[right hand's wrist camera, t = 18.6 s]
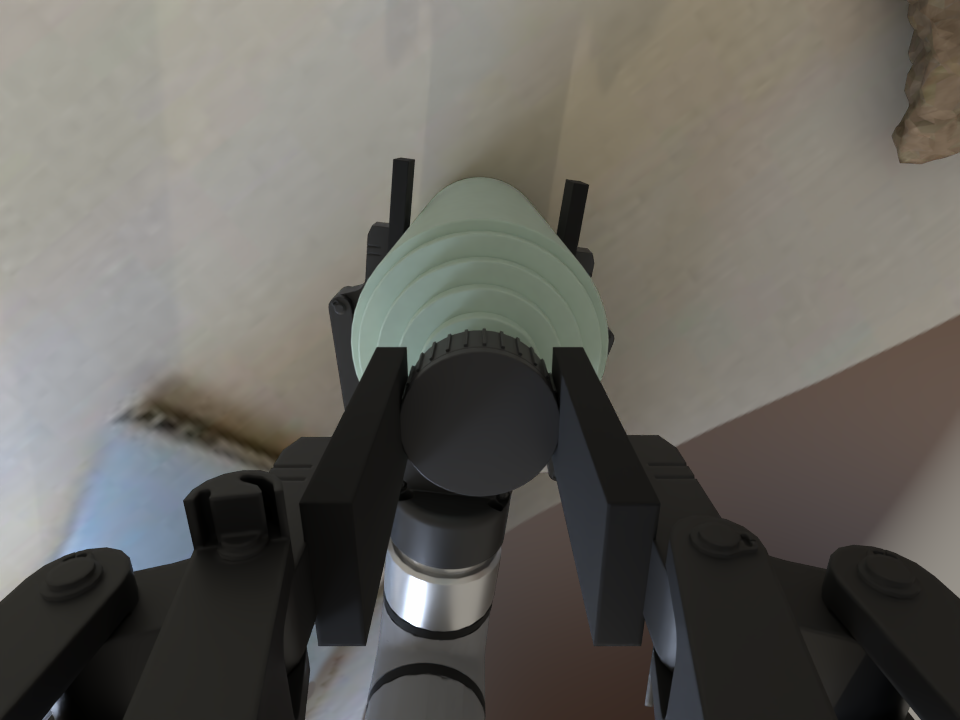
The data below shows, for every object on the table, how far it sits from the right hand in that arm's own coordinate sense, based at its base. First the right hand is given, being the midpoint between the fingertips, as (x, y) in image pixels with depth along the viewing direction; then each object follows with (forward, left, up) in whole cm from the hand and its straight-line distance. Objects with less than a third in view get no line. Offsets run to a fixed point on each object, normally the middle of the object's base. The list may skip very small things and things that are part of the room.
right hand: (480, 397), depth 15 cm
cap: (0, 0, +1) cm, 1 cm away
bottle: (0, 0, -23) cm, 23 cm away
